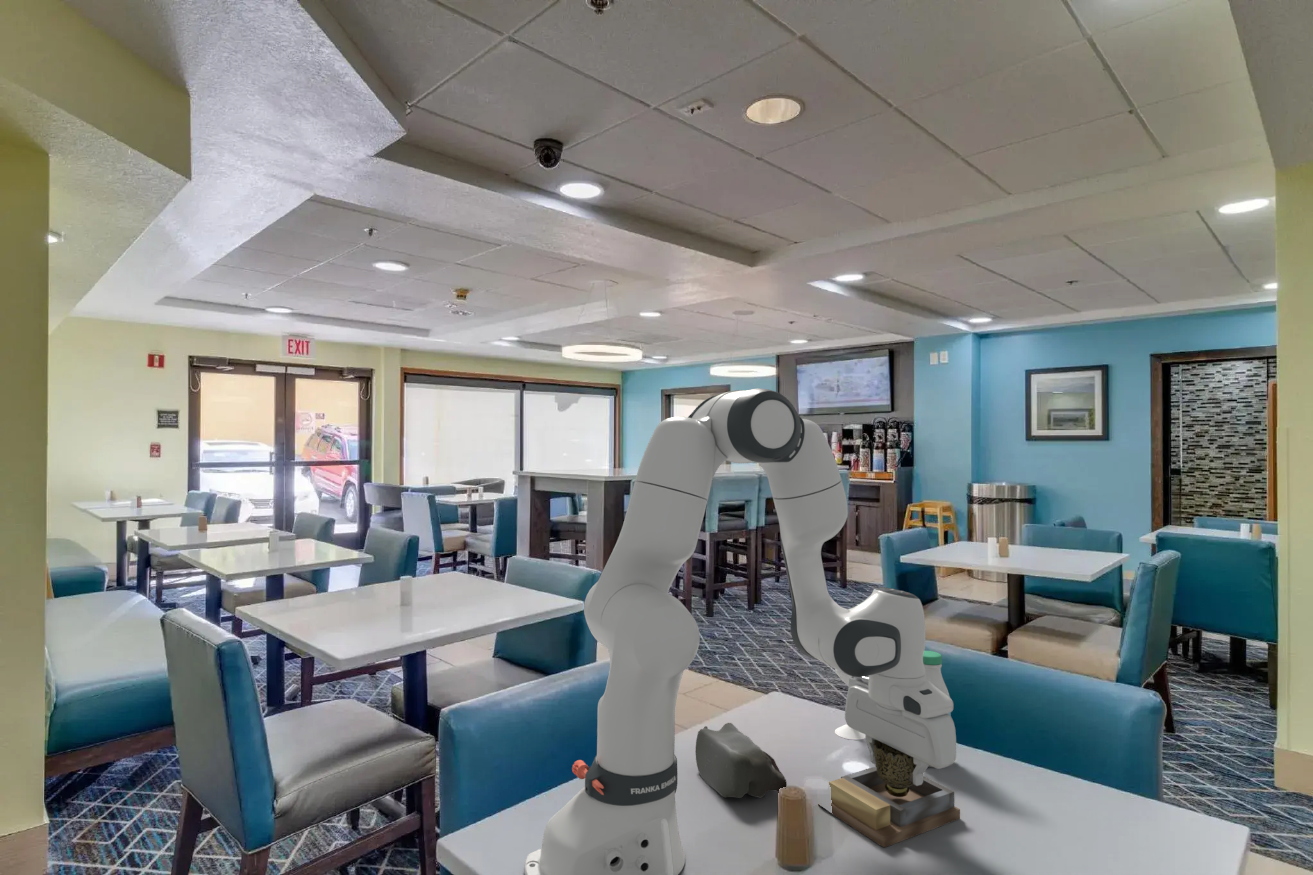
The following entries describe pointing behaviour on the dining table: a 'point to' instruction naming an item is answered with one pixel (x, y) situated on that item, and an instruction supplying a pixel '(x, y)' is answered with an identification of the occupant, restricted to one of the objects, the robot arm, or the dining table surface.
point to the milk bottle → (934, 671)
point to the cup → (893, 768)
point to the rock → (735, 763)
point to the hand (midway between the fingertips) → (896, 773)
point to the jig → (890, 807)
